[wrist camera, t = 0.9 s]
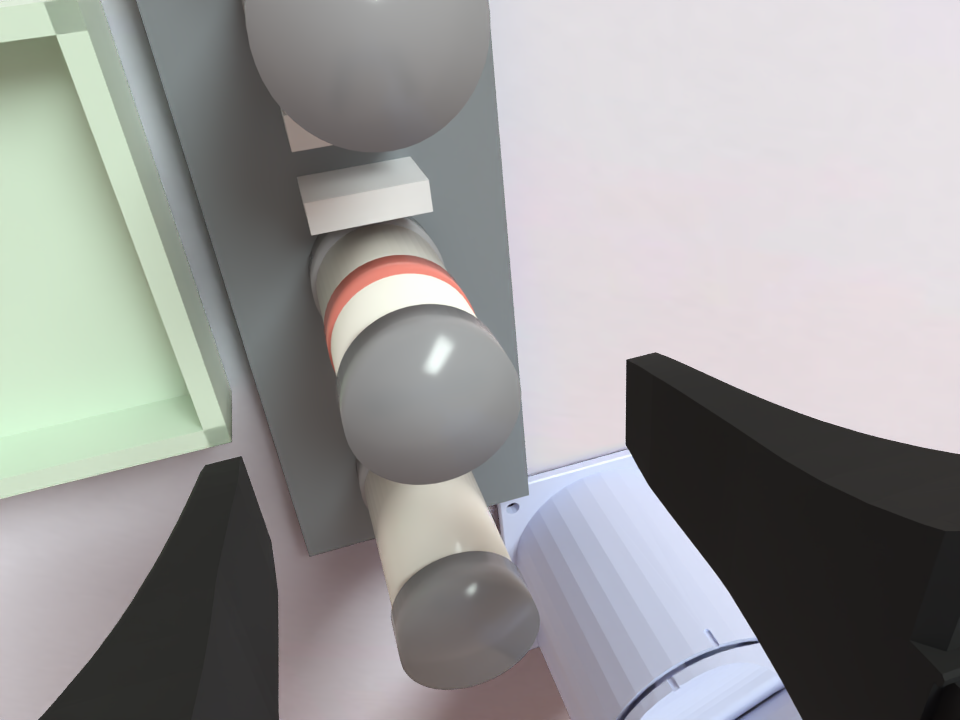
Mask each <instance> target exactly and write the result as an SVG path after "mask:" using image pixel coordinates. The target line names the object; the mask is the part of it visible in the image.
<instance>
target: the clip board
mask: <svg viewBox="0 0 960 720" xmlns="http://www.w3.org/2000/svg"><path fill="white" fill-rule="evenodd" d="M136 2H137V5H138V8H139V11H140V15H141V18H142V21H143V24H144V27H145V31H146V34H147V37H148V40H149V43H150V47H151V50H152V53H153V56H154V59H155V63H156V66H157V69H158V72H159V75H160V79H161V82H162V85H163V88H164V91H165V95H166V98H167V101H168V104H169V107H170V111H171V114H172V117H173V120H174V124H175V127H176V130H177V133H178V136H179V140H180V143H181V146H182V149H183V152H184V156H185V159H186V162H187V165H188V168H189V172H190V175H191V178H192V181H193V184H194V188H195V191H196V194H197V197H198V200H199V204H200V207H201V210H202V213H203V216H204V220H205V223H206V226H207V229H208V232H209V236H210V239H211V242H212V245H213V248H214V252H215V255H216V258H217V261H218V264H219V268H220V271H221V274H222V277H223V281H224V284H225V287H226V290H227V293H228V297H229V300H230V303H231V306H232V309H233V313H234V316H235V319H236V322H237V325H238V329H239V332H240V335H241V338H242V341H243V345H244V348H245V351H246V354H247V357H248V361H249V364H250V367H251V370H252V373H253V377H254V380H255V383H256V386H257V389H258V393H259V396H260V399H261V402H262V405H263V409H264V412H265V415H266V418H267V421H268V425H269V428H270V431H271V434H272V438H273V441H274V444H275V447H276V450H277V454H278V457H279V460H280V463H281V466H282V470H283V473H284V476H285V479H286V482H287V486H288V489H289V492H290V495H291V498H292V502H293V505H294V508H295V511H296V514H297V518H298V521H299V524H300V527H301V530H302V534H303V537H304V540H305V543H306V546H307V550H308V553H309V556H314V555H317V554H321V553H325V552H328V551H332V550H335V549H339V548H342V547H346V546H349V545H353V544H357V543H360V542H364V541H367V540H371V539H374V538H375V534H374V530H373V526H372V522H371V518H370V513H369V509H368V508H367V507H366V505H365V503H364V501H363V498H362V494H361V490H360V485H359V481H358V477H357V472H356V456H355V455H354V454H353V452H352V450H351V449H350V447H349V445H348V442H347V439H346V436H345V432H344V428H343V424H342V419H341V415H340V410H339V406H338V402H337V396H336V379H337V376H336V373H335V371H334V369H333V367H332V364H331V361H330V357H329V353H328V348H327V344H326V340H325V334H324V322H323V318H322V316H321V315H320V313H319V311H318V309H317V307H316V304H315V301H314V297H313V293H312V288H311V284H310V279H309V273H308V264H309V256H310V253H311V249H312V247H313V244H314V242H315V240H316V238H317V237H318V235H319V234H322V233H327V232H332V231H337V230H342V229H347V228H352V227H357V226H362V225H367V224H372V223H378V222H383V221H388V220H393V219H398V218H403V217H408V216H411V217H413V218H414V219H415V220H416V221H418V222H419V224H420V225H421V226H422V227H423V228H424V229H425V231H426V232H427V233H428V235H429V236H430V238H431V240H432V241H433V243H434V244H435V246H436V247H437V249H438V251H439V253H440V254H441V257H442V259H443V262H444V266H445V268H446V270H447V271H448V273H449V274H450V275H451V276H452V277H453V278H454V279H455V281H456V282H457V283H458V285H459V286H460V288H461V289H462V291H463V293H464V294H465V296H466V297H467V299H468V300H469V302H470V304H471V306H472V308H473V310H474V313H475V315H476V317H477V318H478V319H479V320H481V321H482V322H483V323H484V324H485V325H486V326H487V327H488V328H489V329H490V331H491V332H492V334H493V335H494V336H495V338H496V339H497V341H498V342H499V344H500V346H501V347H502V349H503V350H504V352H505V353H506V355H507V356H508V358H509V359H510V361H511V362H512V364H513V366H514V368H515V370H516V372H517V375H518V378H519V366H518V354H517V342H516V330H515V318H514V306H513V294H512V282H511V270H510V258H509V246H508V234H507V222H506V210H505V198H504V186H503V174H502V162H501V150H500V138H499V126H498V114H497V102H496V89H495V77H494V65H493V53H492V41H491V29H490V39H489V48H488V53H487V57H486V62H485V65H484V68H483V71H482V74H481V77H480V79H479V81H478V83H477V86H476V88H475V90H474V92H473V93H472V95H471V97H470V98H469V100H468V101H467V103H466V104H465V106H464V107H463V108H462V109H461V111H460V112H459V113H458V114H457V116H456V117H455V118H453V119H452V120H451V121H450V122H449V123H448V124H447V125H446V126H445V127H444V128H442V129H441V130H440V131H438V132H437V133H436V134H434V135H433V136H431V137H429V138H427V139H425V140H424V141H422V142H420V143H417V144H415V145H412V146H409V147H407V148H403V149H399V150H395V151H387V152H360V151H353V150H348V149H345V148H341V147H338V146H334V145H332V144H330V143H327V142H325V141H323V140H321V139H319V138H317V137H316V136H314V135H312V134H310V133H309V132H307V131H306V130H304V129H303V128H302V127H301V126H299V125H298V124H297V123H296V122H294V121H293V120H292V119H291V118H290V117H289V116H288V115H287V114H286V113H285V112H284V111H283V110H282V109H281V107H280V106H279V105H278V104H277V102H276V101H275V100H274V98H273V97H272V96H271V94H270V92H269V91H268V89H267V87H266V86H265V84H264V82H263V81H262V79H261V76H260V74H259V72H258V70H257V67H256V65H255V62H254V59H253V56H252V52H251V49H250V45H249V39H248V34H247V28H246V22H245V13H244V10H243V5H242V0H136ZM519 381H520V378H519ZM472 473H473V476H474V478H475V480H476V482H477V484H478V487H479V489H480V491H481V493H482V496H483V498H484V500H485V502H486V505H487V507H488V506H492V505H496V504H499V503H503V502H506V501H510V500H513V499H517V498H521V497H524V496H528V495H529V487H528V475H527V463H526V451H525V439H524V427H523V415H522V403H521V405H520V411H519V415H518V418H517V421H516V423H515V426H514V428H513V430H512V432H511V433H510V435H509V437H508V438H507V440H506V441H505V442H504V444H503V445H502V446H501V448H500V449H499V450H498V451H497V452H496V453H495V454H494V455H493V456H492V457H490V458H489V459H488V460H487V461H486V462H484V463H483V464H482V465H480V466H479V467H477V468H476V469H474V470H472Z"/></svg>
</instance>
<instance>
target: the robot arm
mask: <svg viewBox="0 0 960 720" xmlns="http://www.w3.org/2000/svg"><path fill="white" fill-rule="evenodd" d="M626 446H627V448H628V449H627V450H624V451H620V452H616V453H613V454H609V455H606V456H602V457H598V458H595V459H591V460H587V461H584V462H580V463H577V464H573V465H569V466H566V467H562V468H558V469H555V470H551V471H548V472H544V473H540V474H537V475H533V476H529V477H528V487H529V495H528V496H524V497H521V498H517V499H513V500H510V501H506V502H503V503H499V504H497V505H498V514H499V523H500V532H501V538H502V540H503V543H504V545H505V547H506V549H507V552H508V554H509V556H510V558H511V561H512V562H513V563H514V564H515V565H516V566H517V567H518V569H519V570H520V572H521V574H522V576H523V578H524V580H525V582H526V585H527V587H528V589H529V591H530V593H531V596H532V598H533V600H534V602H535V604H536V607H537V609H538V612H539V616H540V627H539V632H538V635H537V637H536V639H535V641H534V643H533V645H532V647H531V648H530V650H531V649H534V648H537V647H540V649H541V652H542V654H543V656H544V659H545V661H546V663H547V665H548V668H549V670H550V672H551V675H552V677H553V679H554V682H555V684H556V686H557V689H558V691H559V693H560V696H561V698H562V700H563V703H564V705H565V707H566V709H567V712H568V714H569V716H570V719H571V720H960V454H955V453H949V452H944V451H938V450H933V449H928V448H922V447H918V446H913V445H909V444H905V443H900V442H896V441H891V440H887V439H883V438H879V437H875V436H871V435H867V434H863V433H860V432H856V431H853V430H850V429H846V428H843V427H840V426H837V425H833V424H830V423H827V422H823V421H820V420H817V419H814V418H812V417H809V416H806V415H803V414H800V413H798V412H795V411H792V410H790V409H787V408H784V407H782V406H779V405H777V404H774V403H771V402H769V401H767V400H764V399H762V398H759V397H757V396H754V395H752V394H750V393H747V392H745V391H743V390H740V389H738V388H736V387H734V386H731V385H729V384H727V383H725V382H722V381H720V380H718V379H716V378H714V377H711V376H709V375H707V374H705V373H703V372H700V371H698V370H696V369H694V368H692V367H689V366H687V365H685V364H683V363H681V362H678V361H676V360H674V359H671V358H669V357H666V356H664V355H661V354H659V353H656V352H655V353H651V354H647V355H643V356H640V357H636V358H632V359H628V360H626ZM511 503H515V504H514V505H512V506H510V507H507V506H508V505H509V504H511ZM38 720H279V712H278V589H277V581H276V573H275V565H274V558H273V551H272V543H271V540H270V537H269V534H268V531H267V528H266V525H265V522H264V519H263V516H262V514H261V511H260V508H259V505H258V502H257V499H256V496H255V493H254V490H253V488H252V485H251V482H250V479H249V476H248V473H247V470H246V467H245V464H244V462H243V459H242V456H240V457H236V458H232V459H228V460H224V461H221V462H217V463H213V464H209V465H205V467H204V468H203V469H202V471H201V472H200V475H199V477H198V479H197V481H196V484H195V486H194V488H193V490H192V492H191V495H190V497H189V499H188V501H187V503H186V505H185V507H184V509H183V511H182V513H181V515H180V517H179V520H178V522H177V524H176V525H175V527H174V529H173V531H172V533H171V535H170V537H169V539H168V541H167V542H166V544H165V546H164V548H163V550H162V552H161V554H160V556H159V557H158V559H157V561H156V563H155V564H154V566H153V568H152V569H151V571H150V573H149V574H148V576H147V577H146V579H145V581H144V582H143V584H142V586H141V587H140V589H139V591H138V592H137V594H136V596H135V597H134V599H133V600H132V602H131V604H130V605H129V607H128V608H127V610H126V611H125V612H124V614H123V615H122V617H121V618H120V620H119V621H118V623H117V624H116V626H115V627H114V628H113V630H112V631H111V633H110V634H109V635H108V637H107V638H106V639H105V641H104V642H103V644H102V645H101V646H100V648H99V649H98V650H97V652H96V653H95V654H94V656H93V657H92V658H91V659H90V661H89V662H88V663H87V664H86V665H85V667H84V668H83V669H82V670H81V671H80V673H79V674H78V675H77V676H76V677H75V678H74V680H73V681H72V682H71V683H70V684H69V685H68V687H67V688H66V689H65V690H64V691H63V692H62V694H61V695H60V696H59V697H58V698H57V700H56V701H55V702H54V703H53V704H52V705H51V707H50V708H49V709H48V710H47V711H46V712H45V713H44V714H43V715H42V716H41V717H40V718H39V719H38Z"/></svg>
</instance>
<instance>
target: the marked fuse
mask: <svg viewBox="0 0 960 720" xmlns="http://www.w3.org/2000/svg"><path fill="white" fill-rule="evenodd" d="M308 273H309V279H310V284H311V288H312V293H313V297H314V301H315V304H316V307H317V309H318V311H319V313H320V315H321V316H322V318H323V322H324V334H325V340H326V344H327V348H328V353H329V357H330V361H331V364H332V367H333V369H334V371H335V373H336V376H337V379H336V396H337V402H338V406H339V410H340V415H341V419H342V424H343V428H344V432H345V436H346V439H347V442H348V445H349V447H350V449H351V450H352V452H353V454H354V455H355V456H356V458H357V459H358V460H359V461H360V462H361V463H362V464H363V465H364V466H365V467H366V468H367V469H369V470H370V471H371V472H373V473H374V474H376V475H378V476H380V477H382V478H385V479H387V480H390V481H393V482H398V483H402V484H410V485H427V484H436V483H440V482H445V481H448V480H451V479H454V478H457V477H460V476H462V475H464V474H467V473H468V472H470V471H472V470H474V469H476V468H477V467H479V466H480V465H482V464H483V463H484V462H486V461H487V460H488V459H489V458H490V457H492V456H493V455H494V454H495V453H496V452H497V451H498V450H499V449H500V448H501V446H502V445H503V444H504V442H505V441H506V440H507V438H508V437H509V435H510V433H511V432H512V430H513V428H514V426H515V423H516V421H517V418H518V415H519V411H520V405H521V387H520V381H519V378H518V375H517V372H516V370H515V368H514V366H513V364H512V362H511V361H510V359H509V358H508V356H507V355H506V353H505V352H504V350H503V349H502V347H501V346H500V344H499V342H498V341H497V339H496V338H495V336H494V335H493V334H492V332H491V331H490V329H489V328H488V327H487V326H486V325H485V324H484V323H483V322H482V321H481V320H479V319H478V318H477V317H476V315H475V313H474V310H473V308H472V306H471V304H470V302H469V300H468V299H467V297H466V296H465V294H464V293H463V291H462V289H461V288H460V286H459V285H458V283H457V282H456V281H455V279H454V278H453V277H452V276H451V275H450V274H449V273H448V271H447V270H446V268H445V266H444V262H443V259H442V257H441V254H440V253H439V251H438V249H437V247H436V246H435V244H434V243H433V241H432V240H431V238H430V236H429V235H428V233H427V232H426V231H425V229H424V228H423V227H422V226H421V225H420V224H419V222H418V221H416V220H415V219H414V218H413V217H411V216H408V217H403V218H398V219H393V220H388V221H383V222H378V223H372V224H367V225H362V226H357V227H352V228H347V229H342V230H337V231H332V232H327V233H322V234H319V235H318V237H317V238H316V240H315V242H314V244H313V247H312V249H311V253H310V256H309V264H308Z"/></svg>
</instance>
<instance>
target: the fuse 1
mask: <svg viewBox="0 0 960 720" xmlns="http://www.w3.org/2000/svg"><path fill="white" fill-rule="evenodd" d="M242 5H243V10H244V13H245V22H246V28H247V34H248V39H249V45H250V49H251V52H252V56H253V59H254V62H255V65H256V67H257V70H258V72H259V74H260V76H261V79H262V81H263V82H264V84H265V86H266V87H267V89H268V91H269V92H270V94H271V96H272V97H273V98H274V100H275V101H276V102H277V104H278V105H279V106H280V107H281V109H282V110H283V111H284V112H285V113H286V114H287V115H288V116H289V117H290V118H291V119H292V120H293V121H294V122H296V123H297V124H298V125H299V126H301V127H302V128H303V129H304V130H306V131H307V132H309V133H310V134H312V135H314V136H316V137H317V138H319V139H321V140H323V141H325V142H327V143H330V144H332V145H334V146H338V147H341V148H345V149H348V150H353V151H360V152H387V151H395V150H399V149H403V148H407V147H409V146H412V145H415V144H417V143H420V142H422V141H424V140H425V139H427V138H429V137H431V136H433V135H434V134H436V133H437V132H438V131H440V130H441V129H442V128H444V127H445V126H446V125H447V124H448V123H449V122H450V121H451V120H452V119H453V118H455V117H456V116H457V114H458V113H459V112H460V111H461V109H462V108H463V107H464V106H465V104H466V103H467V101H468V100H469V98H470V97H471V95H472V93H473V92H474V90H475V88H476V86H477V83H478V81H479V79H480V77H481V74H482V71H483V68H484V65H485V62H486V57H487V53H488V48H489V39H490V9H489V2H488V0H242Z"/></svg>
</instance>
